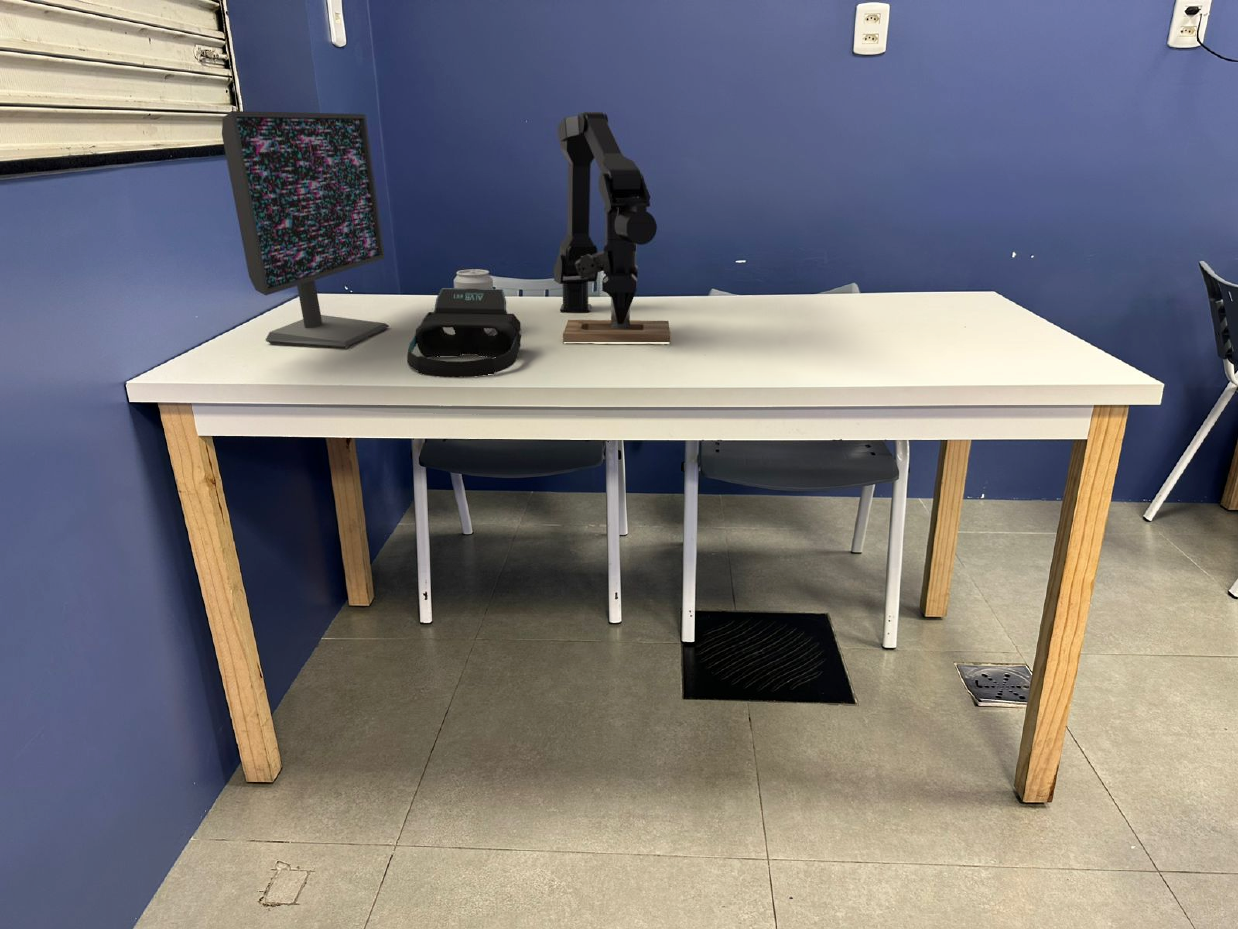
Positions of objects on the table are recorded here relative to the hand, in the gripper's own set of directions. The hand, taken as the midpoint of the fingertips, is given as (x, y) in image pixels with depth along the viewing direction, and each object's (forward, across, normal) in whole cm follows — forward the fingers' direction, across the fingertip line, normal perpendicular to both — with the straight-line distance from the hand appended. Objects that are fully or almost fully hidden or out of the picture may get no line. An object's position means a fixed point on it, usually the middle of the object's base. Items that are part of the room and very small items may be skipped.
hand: (620, 321), depth 165 cm
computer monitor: (+3, +2, -56) cm, 56 cm away
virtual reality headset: (+4, +19, -26) cm, 33 cm away
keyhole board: (+3, 0, -1) cm, 3 cm away
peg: (+2, 0, 0) cm, 2 cm away
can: (+3, -3, -29) cm, 29 cm away
